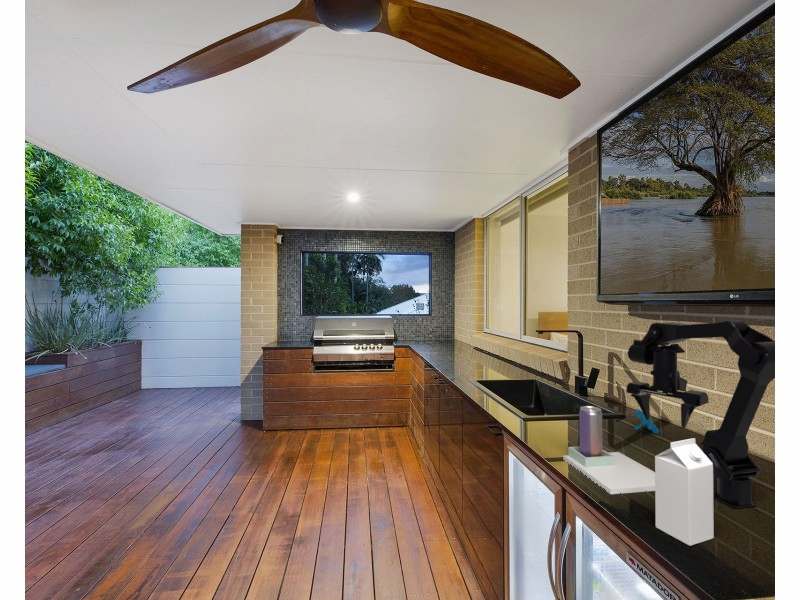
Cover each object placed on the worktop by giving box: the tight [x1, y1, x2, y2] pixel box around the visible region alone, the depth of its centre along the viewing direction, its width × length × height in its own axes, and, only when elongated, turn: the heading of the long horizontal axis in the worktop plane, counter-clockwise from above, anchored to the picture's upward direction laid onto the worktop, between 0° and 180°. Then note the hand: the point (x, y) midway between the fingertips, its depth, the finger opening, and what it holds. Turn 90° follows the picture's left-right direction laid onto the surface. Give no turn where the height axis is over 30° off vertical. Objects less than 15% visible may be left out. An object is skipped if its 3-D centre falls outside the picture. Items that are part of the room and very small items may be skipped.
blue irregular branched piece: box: [634, 408, 660, 435], centre depth 148 cm, size 11×6×10 cm
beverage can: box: [578, 405, 603, 457], centre depth 119 cm, size 6×6×15 cm
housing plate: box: [562, 445, 655, 495], centre depth 113 cm, size 22×18×4 cm
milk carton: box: [654, 437, 715, 547], centre depth 84 cm, size 7×7×19 cm
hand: (665, 423), depth 114 cm, fingers open, 9 cm apart
